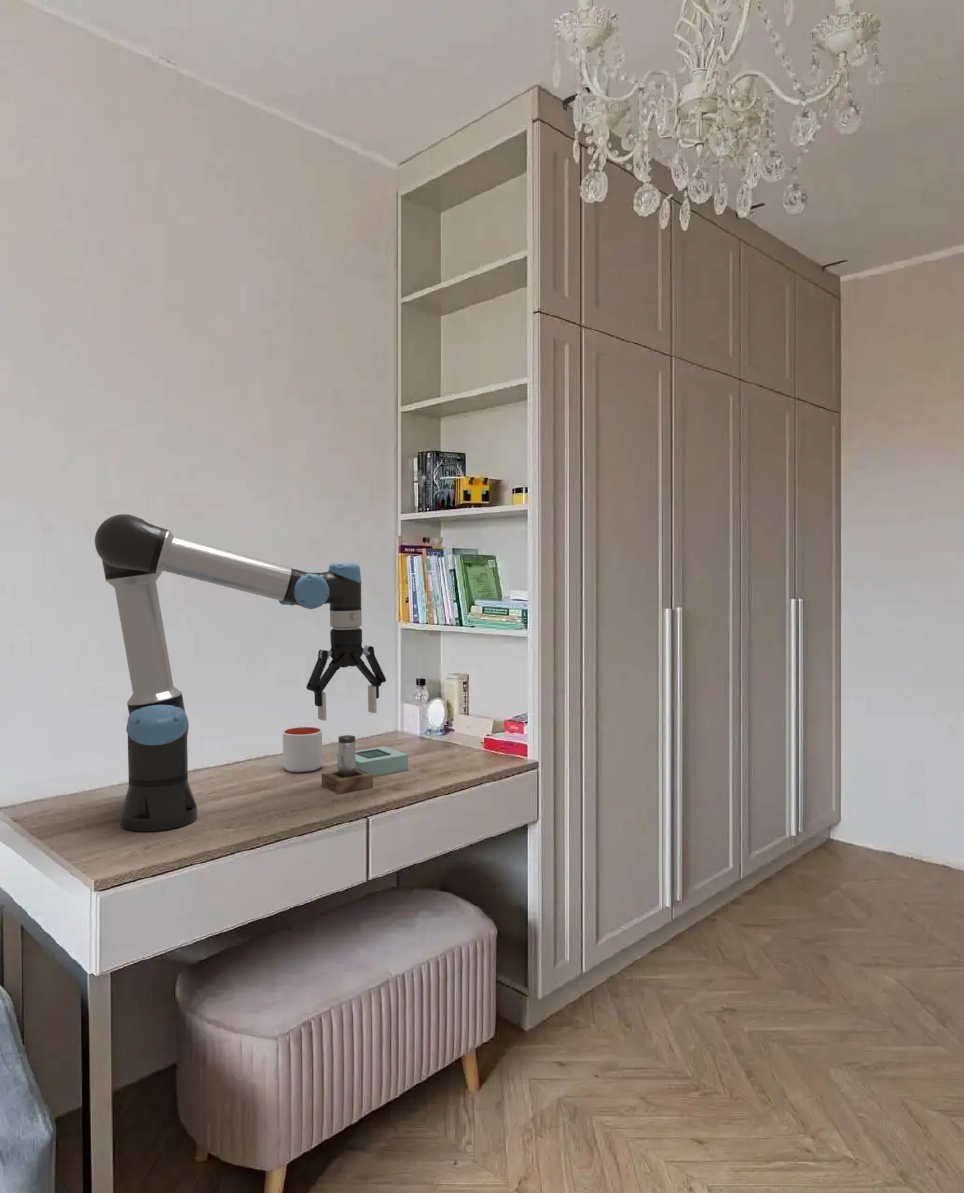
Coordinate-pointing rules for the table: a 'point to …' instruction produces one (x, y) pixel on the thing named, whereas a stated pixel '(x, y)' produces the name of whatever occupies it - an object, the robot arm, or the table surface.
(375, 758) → the block
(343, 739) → the plug
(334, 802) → the table surface
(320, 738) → the cup
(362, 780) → the brown wooden square tray
